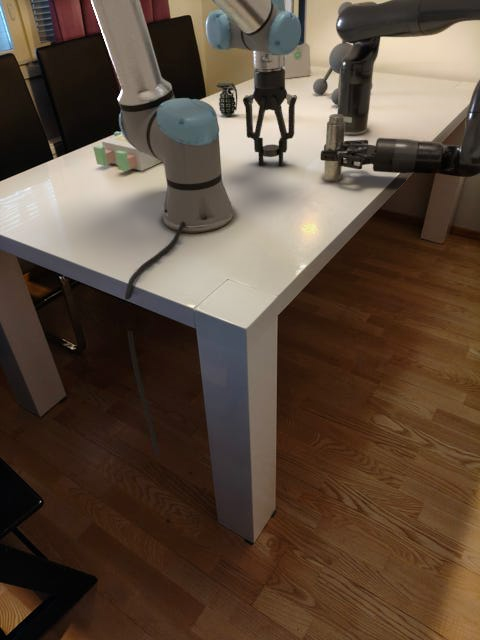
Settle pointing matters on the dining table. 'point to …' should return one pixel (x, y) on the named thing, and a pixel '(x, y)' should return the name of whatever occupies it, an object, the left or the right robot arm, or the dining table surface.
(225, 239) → the dining table surface
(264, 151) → the lid
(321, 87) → the molecular model
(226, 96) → the grenade
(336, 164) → the grey metal cylinder
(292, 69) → the electronic device
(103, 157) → the decorative block
